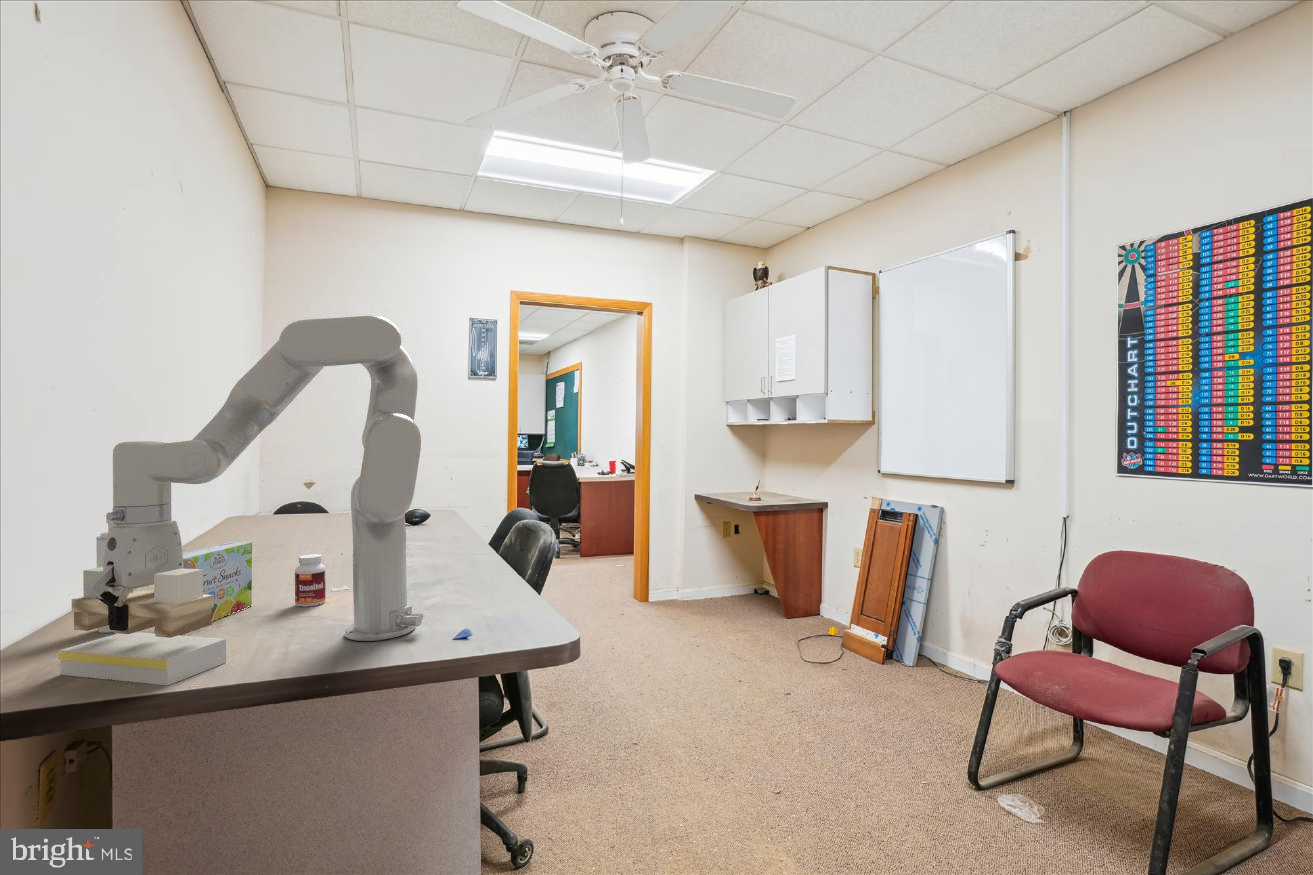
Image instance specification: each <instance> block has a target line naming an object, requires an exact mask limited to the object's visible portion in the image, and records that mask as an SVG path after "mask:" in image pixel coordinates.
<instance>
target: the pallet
mask: <svg viewBox="0 0 1313 875" xmlns="http://www.w3.org/2000/svg"><path fill="white" fill-rule="evenodd" d="M124 605H128V616H129V620H128V629H127V630H125V631H116V630H114V632H113V634H118V633H119V634H131V633H134V632H141V631H145V630H148V629H151V628H154V634H155V637H167V638H171V637H174V636H178V635H180V636H182V635H184V634H186V633H189V632H192V631H193V632H194V631H196V630H200V629H203V628H206V627H210V626H212V623H213V622H212V610H211V608H212V607H214V595H204V594H203V597H200V598H196V599H193V600H189V601H185V602H181V603H177V604H173V603H159V602H154V591H153V590H141V591H139V590H133V592H132V593H129V595H128V597H127V599H126V601H125V603H124ZM71 612H73V630H74V631H84V632H85V631H86V632H89V631H92V630H98V628H101V627H104V626H108V625H109V624H108V606H105V605H104V604H103V602H101V601H100V600H99V599H97V598H84V596H80V597H75V598H72V599H71Z"/></svg>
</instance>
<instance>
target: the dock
mask: <svg viewBox="0 0 1313 875" xmlns="http://www.w3.org/2000/svg"><path fill="white" fill-rule="evenodd" d="M57 653H58V655H57V657H58V660H59V661H60V675H61V676H68V677H69V676H70V677H71V676H72V677H78V678H88V677H90V679H91V678H92V677H93V678H92V679H98V680H108V679H110V681H118V680H119V681H122V682H128V681H129V682H130V683H140V684H151V685H157V686H158V685H159V686H170V685H172V684H176V683H177V682H180V681H183V680H186V679H188V678H190V677H193V676H196V675H198V674H201V673H204V672H207V671H209V670H210V669H211V670H212V669H213V668H216V667H218V666H220V665H224V664H226V663H227V638H221V637H220V638H217V637H205V636H192V635H191V636H190V635H178V636H174V637H171V638H167V637H155V632H141V631H138V632H134V633H131V634H119V633H114V634H111V635H108V636H104V637H100V638H98V639H94V640H91V641H86V642H85V643H84V642H83V643H80V644H78V645H73V646H71V647H67V648H63V649H60V651H58V652H57ZM225 662H226V663H225ZM111 679H112V680H111ZM129 682H128V683H129Z"/></svg>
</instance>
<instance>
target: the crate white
mask: <svg viewBox="0 0 1313 875" xmlns="http://www.w3.org/2000/svg"><path fill="white" fill-rule="evenodd" d="M153 587H154V602H159V603H173V604H177V603H181V602H185V601H189V600H193V599H196V598H200V597H203V570H202V569H182V568H181V569H177V570H172V571H167V572H162V573H157V574H154V584H153Z"/></svg>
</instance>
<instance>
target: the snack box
mask: <svg viewBox="0 0 1313 875" xmlns="http://www.w3.org/2000/svg"><path fill="white" fill-rule="evenodd" d="M183 560H185V561H186V562H188V563H189V564H191V565H192V569H202V570H203V594H204V595H214V607H212V608H211V610H212V621H214V620H216V621H219V620H220V619H219V618H222V617H224V616H227V615H229V614H232V613H233V612H237V611H238V610H242V609H244V608H247V607H248V606H251V605H253V603H252V601H253V598H252V594H253V590H252V589H253V588H252V587H253V584H252V583H253V578H252V577H253V541H228V542H225V543H221V544H216V545H211V546H208V547H202V548H199V549H195V550H194V549H193V550H190V551H185V552H183ZM247 609H248V608H247ZM242 611H243V610H242ZM237 613H238V612H237ZM232 615H233V614H232ZM229 616H230V615H229ZM227 617H228V616H227ZM224 618H225V617H224ZM218 619H219V620H218ZM222 619H223V618H222ZM214 622H215V621H214Z"/></svg>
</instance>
